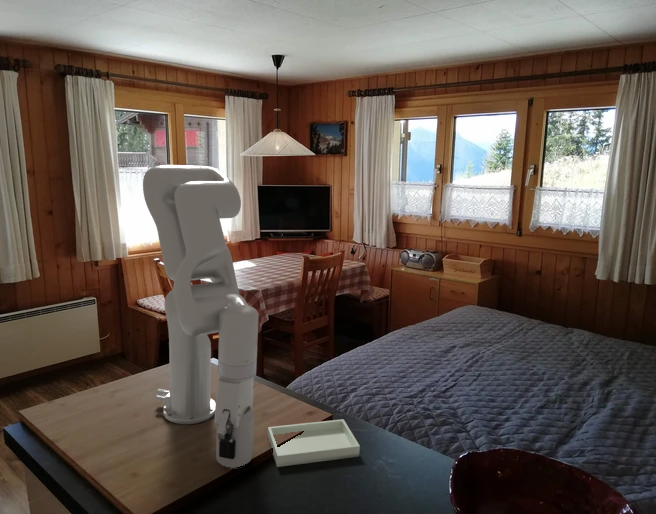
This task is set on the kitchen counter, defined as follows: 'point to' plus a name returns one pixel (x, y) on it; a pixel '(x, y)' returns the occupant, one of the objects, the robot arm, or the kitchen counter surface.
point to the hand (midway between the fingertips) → (234, 445)
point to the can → (240, 442)
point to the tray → (314, 443)
